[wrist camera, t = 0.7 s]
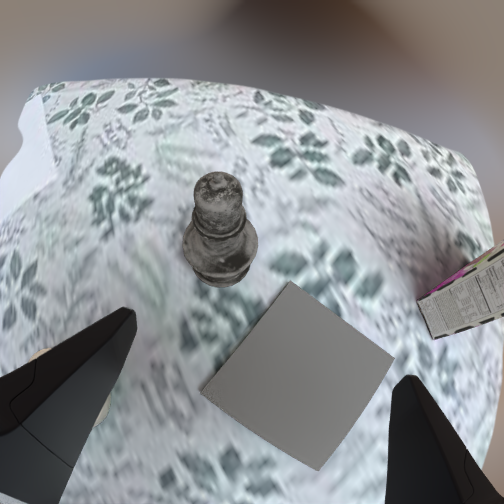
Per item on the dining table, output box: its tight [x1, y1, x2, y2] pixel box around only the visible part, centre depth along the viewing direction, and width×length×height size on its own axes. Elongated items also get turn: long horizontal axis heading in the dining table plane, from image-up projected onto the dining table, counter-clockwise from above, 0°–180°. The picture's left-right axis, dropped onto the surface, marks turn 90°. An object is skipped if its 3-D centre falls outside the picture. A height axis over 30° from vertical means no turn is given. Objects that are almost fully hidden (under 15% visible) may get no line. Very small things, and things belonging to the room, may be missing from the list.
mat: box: [200, 281, 395, 471], centre depth 22 cm, size 12×12×1 cm
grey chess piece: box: [183, 172, 258, 287], centre depth 21 cm, size 6×6×12 cm
